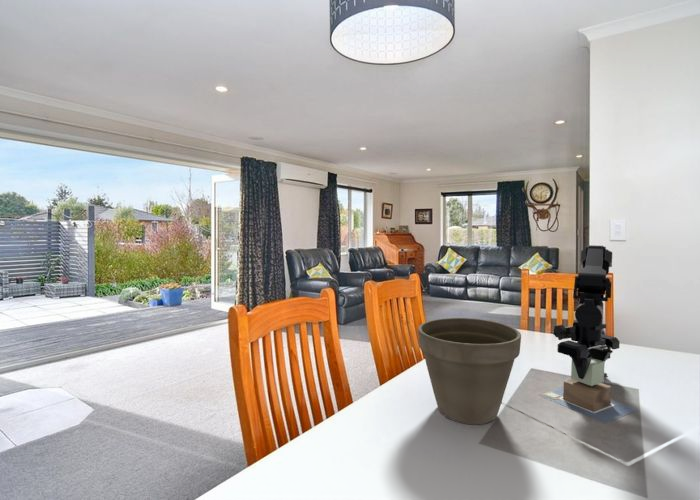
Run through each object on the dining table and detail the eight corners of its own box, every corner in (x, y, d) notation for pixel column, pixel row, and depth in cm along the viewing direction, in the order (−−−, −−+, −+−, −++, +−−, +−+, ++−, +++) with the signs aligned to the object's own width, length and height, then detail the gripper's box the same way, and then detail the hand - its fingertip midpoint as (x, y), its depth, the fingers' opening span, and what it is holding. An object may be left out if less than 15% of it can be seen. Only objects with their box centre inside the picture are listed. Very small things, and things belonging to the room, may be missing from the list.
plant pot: (446, 443, 87) (448, 346, 85) (402, 396, 110) (403, 320, 109) (541, 428, 93) (544, 338, 92) (480, 387, 117) (482, 315, 116)
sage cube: (583, 375, 110) (583, 355, 110) (603, 382, 105) (604, 361, 105) (571, 378, 107) (571, 358, 107) (591, 385, 103) (592, 365, 102)
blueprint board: (571, 386, 118) (571, 384, 118) (638, 411, 102) (638, 408, 102) (538, 396, 111) (538, 394, 111) (605, 425, 95) (605, 422, 95)
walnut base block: (580, 393, 112) (581, 376, 112) (610, 404, 105) (611, 386, 105) (563, 399, 108) (563, 381, 108) (592, 411, 101) (593, 392, 101)
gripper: (581, 310, 117) (578, 361, 118) (540, 316, 108) (538, 372, 109) (621, 317, 107) (619, 374, 108) (580, 326, 98) (577, 387, 99)
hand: (587, 376), depth 106 cm, fingers closed on sage cube, 5 cm apart
